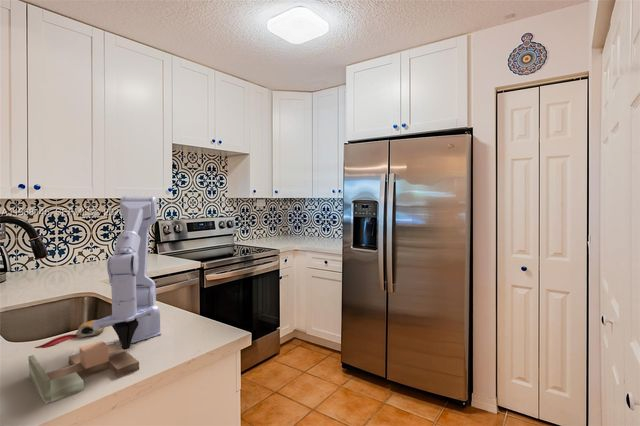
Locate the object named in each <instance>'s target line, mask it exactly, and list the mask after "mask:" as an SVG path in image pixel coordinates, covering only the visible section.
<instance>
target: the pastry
mask: <svg viewBox="0 0 640 426" xmlns="http://www.w3.org/2000/svg"><path fill="white" fill-rule="evenodd" d="M96 320H97V319H93V320H89V321H85V322H83V323H82V324H80V325H79V326H78V327H77V328H78V329H77V331H76V332H75V334H76V335H77V337H78V338H87V337H93V336H97V335H100V334H101V333H102V332H103V331H104V330H105V327H104V328H101V329H100V330H97V331H95V330H93V325H92V322H93V321H96Z"/></svg>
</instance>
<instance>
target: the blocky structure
mask: <svg viewBox="0 0 640 426" xmlns="http://www.w3.org/2000/svg"><path fill="white" fill-rule="evenodd" d="M107 345H108V357H109V361H108V362H105V363H102V364H99V365H96V366H93V367H90V368H87V369H85V368H84V366H83V365H82V364H81V363H80V352H79V353H76V354H73V355H70V356H68V364H69V366H65V367H63V368H59V369H56V370H52V371H50V372H46V371H45V369H44V368H43V366H42V365H41V363H39V362H40V361H38V359H37V357H36V356H35V355H34V354H31V355H29V356H28V357H27V360H28V374H29V375H28V376H29V378H30V380H31V382H32V384H33V386H34V387H35V388H36V390H37V392H38V393H39V396H40V397H41V399H42V400H43V402H44V404H45V405H47V404H48V403H52V402H54V401H58V400H60V399H62V398H66V397H68V396H72V395H74V394H77V393H79V392H82V391H84V390H85V381H84V379H83V378H86V377H89V376H92V375H95V374H98V373H101V372H103V371H106V370H109V371H110V372H112V373H113V374H114V375H115V376H116V377H117V378H120V377H123V376H125V375H128V374H131V373H133V372H136V371H138V370H140V361H139V360H138V359H136V357H134V356H132V355H131V354H130V353H129V352H127V350H123V349H122V348H121V345H118V343H116V342H113V343H109V344H107Z"/></svg>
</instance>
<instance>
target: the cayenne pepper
mask: <svg viewBox="0 0 640 426" xmlns="http://www.w3.org/2000/svg"><path fill="white" fill-rule="evenodd" d="M77 337H78V336H77V335H76V333H75V334H73V333H72V334H71V333H70V334H65V335H60V336H58V337H55V338H54V339H51V340H50V341H47V342H45V343H43V344H41V345H37V346H35V347H34V349H38V348H41V349H45V348H50V347H53V346H56V345H58V344H60V343H63V342H65V341H69V340H71V339H74V338H77Z"/></svg>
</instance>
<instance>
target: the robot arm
mask: <svg viewBox="0 0 640 426" xmlns="http://www.w3.org/2000/svg"><path fill="white" fill-rule="evenodd" d="M119 211H120V214H121V216H122V218H123V220H124V227H123V232H121V233H119V234H118V236H117V239H116V243H115V247H114V251H113V254H112V256H109V257H108V259H107V263H106V264H107V265H106V269H107V270H106V271H107V275H108V282H109V284H111V285H110V286H111V288H110V289H111V310H112V311H111V313H112V314H111V315H108V316H105V317H102V318H100V319H95V320H96V321H93V322H92V325H93V330H95V331H97V330H100V329H101V328H104V329H105V328H107V327H108V328H109V327H112V328H113V330H114V332H115V334H116V335H117V337H118V339H119V340H118V341H119V343H120V347H121V348H122V349H123V350H125V351H127V350H128V349H130V348H131V344H135V343H137V342H140V341H143V340H144V341H145V340H147V339H150V338H153V337H157V336H160V335H161V334H162V332H161V312H160V309H159V307H158V305H157V304H156V301H157V289H156V288H157V287H156V282H155V281H154V279H152V278H150V277H149V276H148V275H147V269H148V268H147V267H148V256H149V255H148V254H149V252H148V251H149V250H148V249H149V232H150V229H151V226H153V225H155V223H156V222H157V218H158V217H157V216H158V200H157V198H156V196H154V195H151V196H130V195H129V196H126V195H123V196H122V197H121V198H120V201H119Z"/></svg>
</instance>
